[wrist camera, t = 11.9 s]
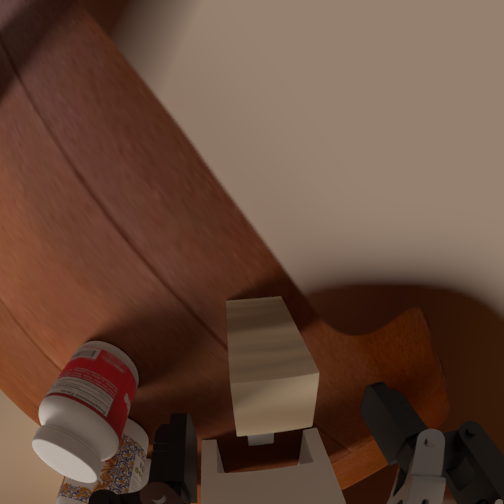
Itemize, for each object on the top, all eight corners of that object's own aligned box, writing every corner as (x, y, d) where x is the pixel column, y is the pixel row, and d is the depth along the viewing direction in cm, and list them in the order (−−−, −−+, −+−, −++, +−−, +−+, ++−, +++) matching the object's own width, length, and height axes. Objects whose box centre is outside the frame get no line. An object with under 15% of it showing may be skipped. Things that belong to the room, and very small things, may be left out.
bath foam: (133, 408, 22) (92, 593, 2) (159, 448, 24) (144, 603, 4) (78, 407, 21) (20, 557, 2) (107, 446, 23) (75, 581, 4)
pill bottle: (123, 402, 22) (94, 495, 11) (70, 366, 20) (19, 449, 9) (152, 366, 21) (122, 475, 10) (91, 324, 19) (25, 416, 9)
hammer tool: (225, 300, 20) (230, 383, 11) (281, 296, 20) (319, 372, 12) (240, 437, 24) (248, 510, 15) (279, 433, 24) (296, 503, 16)
